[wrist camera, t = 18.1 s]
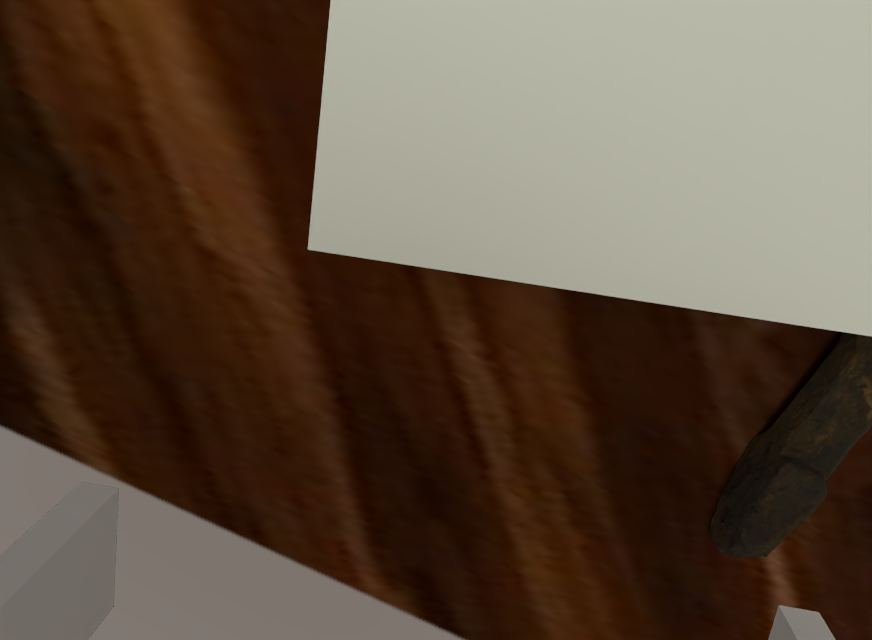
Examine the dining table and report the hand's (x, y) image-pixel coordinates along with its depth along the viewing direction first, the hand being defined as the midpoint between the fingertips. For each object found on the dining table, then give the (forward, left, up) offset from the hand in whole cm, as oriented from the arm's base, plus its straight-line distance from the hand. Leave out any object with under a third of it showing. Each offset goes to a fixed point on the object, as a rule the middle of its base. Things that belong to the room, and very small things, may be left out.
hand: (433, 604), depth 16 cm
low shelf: (+6, +10, -25) cm, 27 cm away
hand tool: (+17, -1, -25) cm, 31 cm away
